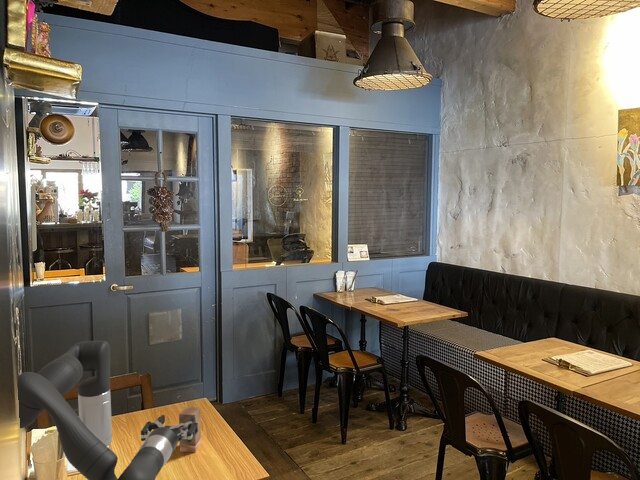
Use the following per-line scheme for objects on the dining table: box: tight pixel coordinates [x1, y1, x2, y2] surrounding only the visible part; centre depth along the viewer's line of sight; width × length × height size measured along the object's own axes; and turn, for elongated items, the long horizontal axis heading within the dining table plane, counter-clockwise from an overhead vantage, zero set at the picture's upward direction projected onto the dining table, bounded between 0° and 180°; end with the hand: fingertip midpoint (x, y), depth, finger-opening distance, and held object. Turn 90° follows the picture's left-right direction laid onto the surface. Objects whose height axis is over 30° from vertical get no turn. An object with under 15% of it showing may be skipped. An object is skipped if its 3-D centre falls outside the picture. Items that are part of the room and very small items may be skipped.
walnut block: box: [178, 406, 202, 453], centre depth 151 cm, size 5×5×12 cm
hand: (178, 418), depth 139 cm, fingers open, 8 cm apart
